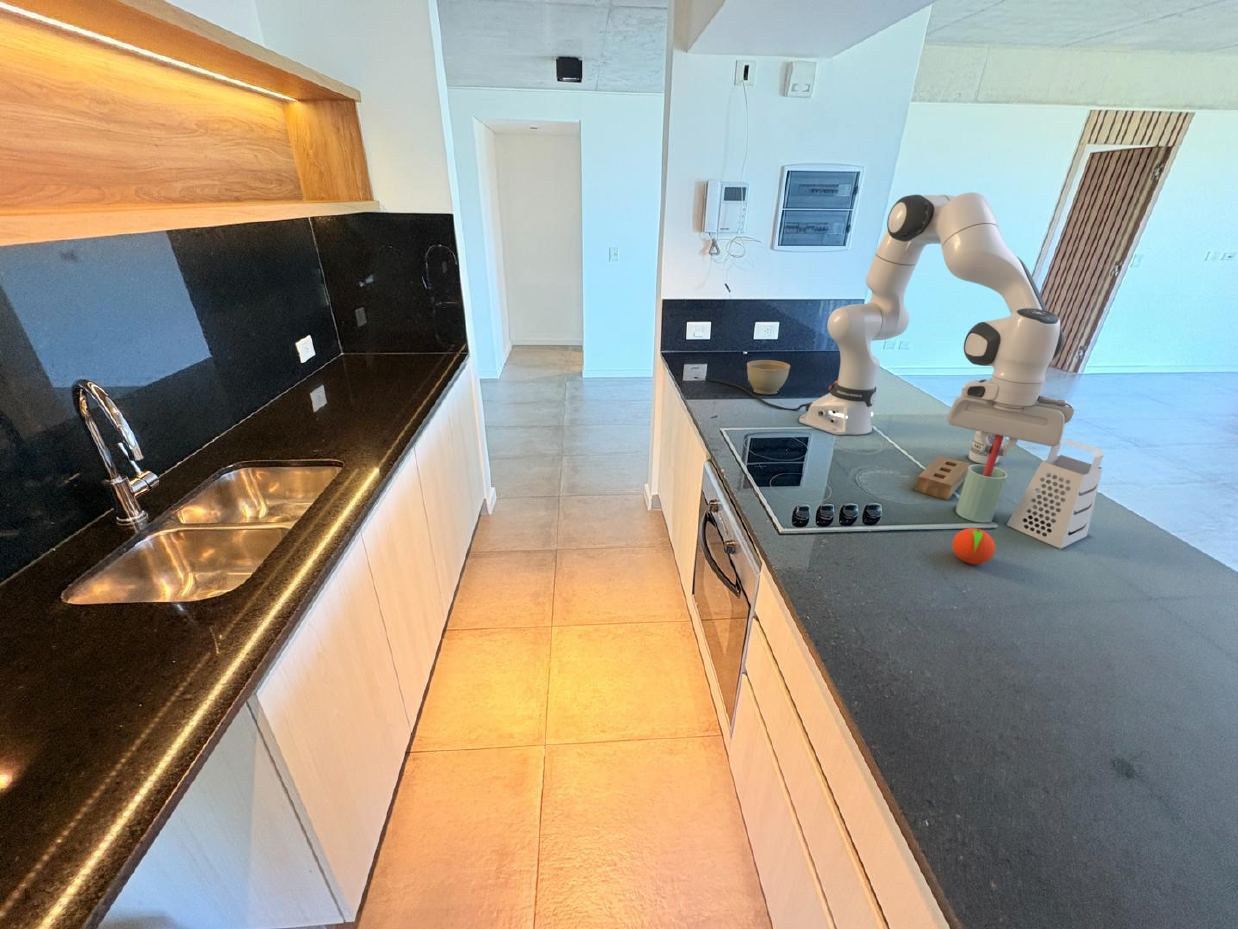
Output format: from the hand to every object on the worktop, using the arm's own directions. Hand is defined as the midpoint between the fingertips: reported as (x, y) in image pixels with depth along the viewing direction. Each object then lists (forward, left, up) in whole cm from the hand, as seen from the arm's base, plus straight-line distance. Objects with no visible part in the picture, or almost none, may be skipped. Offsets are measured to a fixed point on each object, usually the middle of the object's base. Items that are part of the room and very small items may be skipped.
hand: (993, 453), depth 114 cm
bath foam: (-6, +36, -15) cm, 40 cm away
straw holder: (-10, +12, -15) cm, 22 cm away
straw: (0, 0, -7) cm, 7 cm away
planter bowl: (-84, +53, -15) cm, 101 cm away
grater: (+13, +3, -15) cm, 20 cm away
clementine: (+4, -22, -15) cm, 27 cm away
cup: (0, 0, -15) cm, 15 cm away
